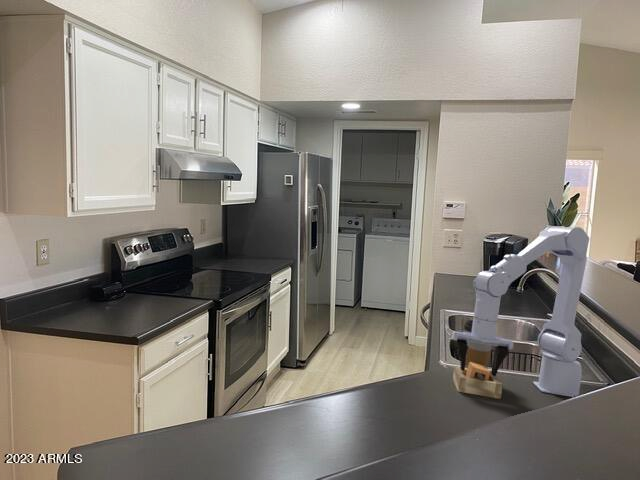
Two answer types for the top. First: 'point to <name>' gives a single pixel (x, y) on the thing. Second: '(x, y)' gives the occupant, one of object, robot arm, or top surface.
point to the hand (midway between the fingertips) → (477, 372)
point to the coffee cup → (476, 349)
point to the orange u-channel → (477, 370)
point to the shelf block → (477, 384)
